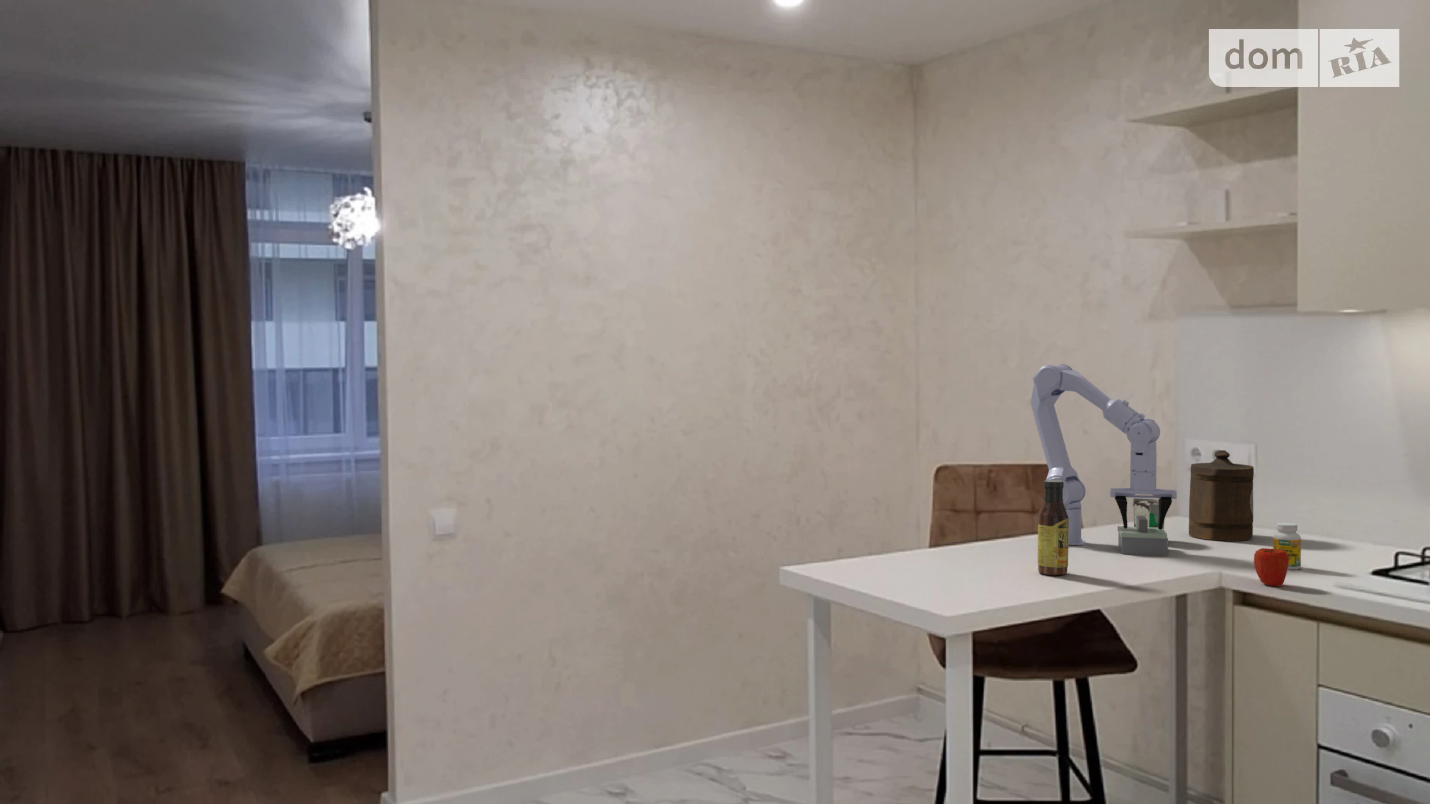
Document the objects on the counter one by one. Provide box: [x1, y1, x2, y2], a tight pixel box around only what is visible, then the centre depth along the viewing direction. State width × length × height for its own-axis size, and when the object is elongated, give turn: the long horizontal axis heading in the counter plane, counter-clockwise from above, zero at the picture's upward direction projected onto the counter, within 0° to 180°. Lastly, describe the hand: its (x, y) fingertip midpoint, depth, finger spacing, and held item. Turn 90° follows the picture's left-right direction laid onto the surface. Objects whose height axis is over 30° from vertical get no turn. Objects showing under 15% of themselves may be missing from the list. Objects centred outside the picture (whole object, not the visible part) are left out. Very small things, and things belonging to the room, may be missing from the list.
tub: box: [1117, 531, 1169, 557], centre depth 261 cm, size 10×10×4 cm
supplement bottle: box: [1272, 522, 1302, 571], centre depth 240 cm, size 5×5×10 cm
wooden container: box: [1188, 449, 1255, 542], centre depth 280 cm, size 15×15×22 cm
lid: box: [1117, 515, 1168, 539], centre depth 261 cm, size 10×10×5 cm
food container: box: [1132, 497, 1166, 531], centre depth 275 cm, size 12×6×10 cm, turn 179°
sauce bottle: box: [1037, 480, 1069, 576], centre depth 236 cm, size 7×6×20 cm
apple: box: [1253, 547, 1289, 587], centre depth 223 cm, size 6×6×8 cm
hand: (1142, 528), depth 261 cm, fingers open, 7 cm apart
